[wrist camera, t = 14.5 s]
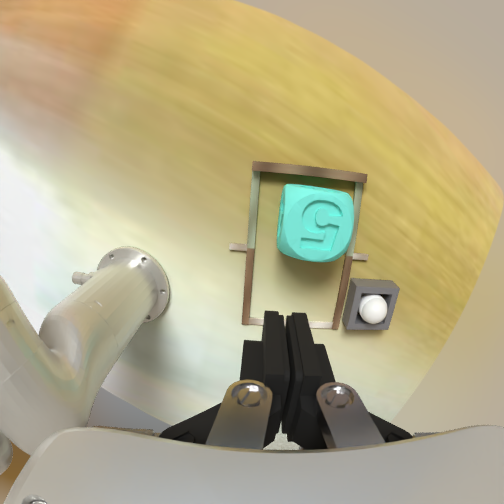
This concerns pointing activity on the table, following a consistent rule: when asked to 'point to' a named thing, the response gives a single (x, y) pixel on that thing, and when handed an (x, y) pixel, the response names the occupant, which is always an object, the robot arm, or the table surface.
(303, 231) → the decorative dice
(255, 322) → the lane
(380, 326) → the collar
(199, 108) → the table surface
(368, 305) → the white ball
